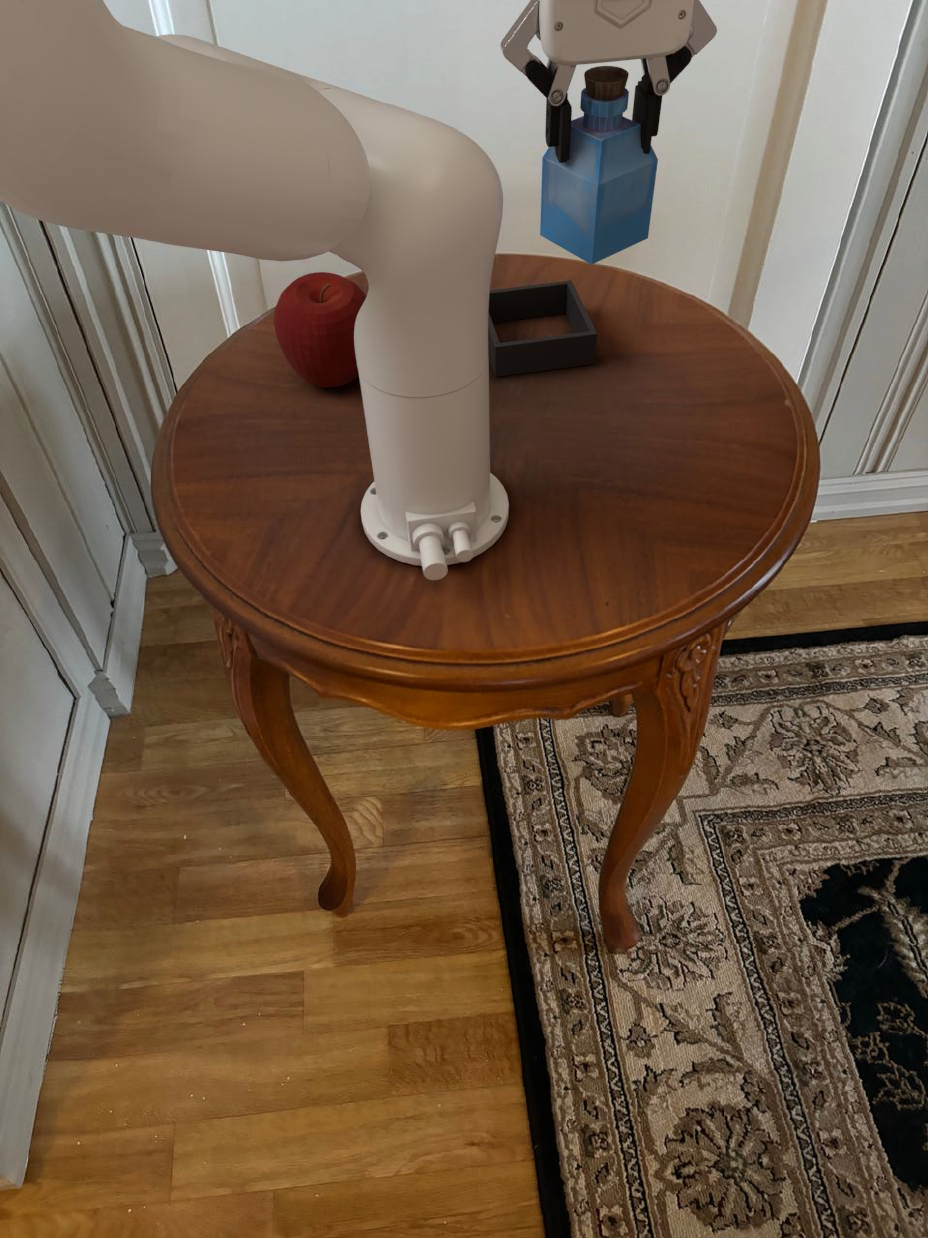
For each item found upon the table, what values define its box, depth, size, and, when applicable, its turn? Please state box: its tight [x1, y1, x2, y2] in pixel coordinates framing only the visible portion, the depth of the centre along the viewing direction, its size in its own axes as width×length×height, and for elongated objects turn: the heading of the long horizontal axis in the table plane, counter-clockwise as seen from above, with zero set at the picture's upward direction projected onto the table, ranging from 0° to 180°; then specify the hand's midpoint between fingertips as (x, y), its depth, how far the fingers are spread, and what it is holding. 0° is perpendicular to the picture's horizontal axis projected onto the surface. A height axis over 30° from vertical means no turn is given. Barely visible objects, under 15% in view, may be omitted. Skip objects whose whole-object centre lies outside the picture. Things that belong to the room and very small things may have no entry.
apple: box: [273, 271, 367, 389], centre depth 86 cm, size 10×10×10 cm
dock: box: [488, 279, 598, 378], centre depth 91 cm, size 10×10×4 cm
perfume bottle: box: [539, 65, 659, 265], centre depth 68 cm, size 6×6×12 cm
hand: (600, 148), depth 67 cm, fingers closed on perfume bottle, 5 cm apart
